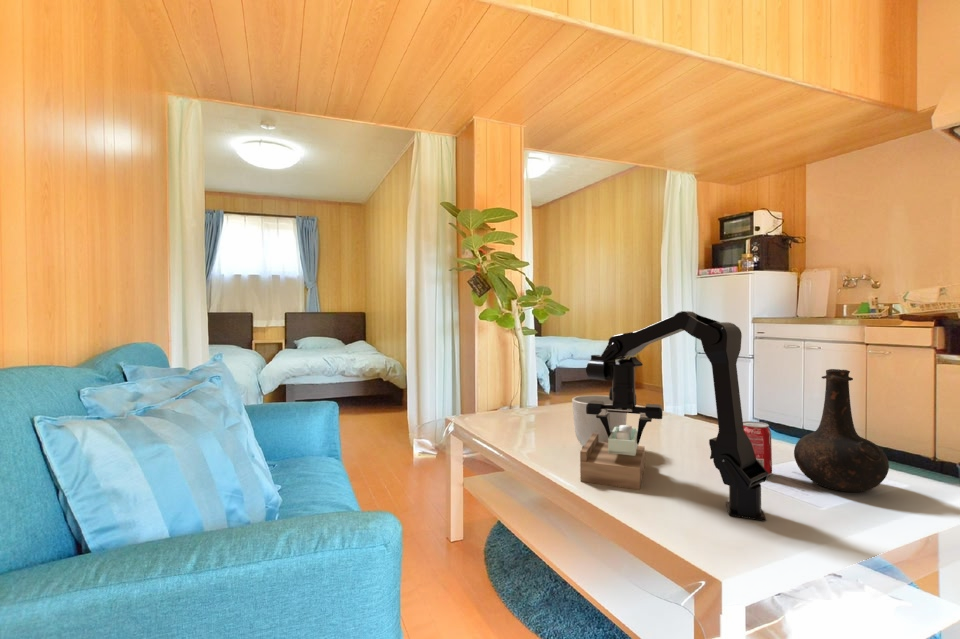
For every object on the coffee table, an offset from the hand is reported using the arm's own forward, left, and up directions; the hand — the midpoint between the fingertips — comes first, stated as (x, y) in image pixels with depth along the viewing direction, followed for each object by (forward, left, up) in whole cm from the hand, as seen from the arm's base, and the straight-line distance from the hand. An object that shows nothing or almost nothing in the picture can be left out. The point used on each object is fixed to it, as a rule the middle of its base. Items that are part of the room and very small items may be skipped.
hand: (624, 442), depth 116 cm
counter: (0, +3, -8) cm, 9 cm away
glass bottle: (+11, -48, -9) cm, 50 cm away
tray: (0, 0, -1) cm, 1 cm away
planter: (+22, +10, -9) cm, 26 cm away
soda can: (+13, -31, -9) cm, 35 cm away
